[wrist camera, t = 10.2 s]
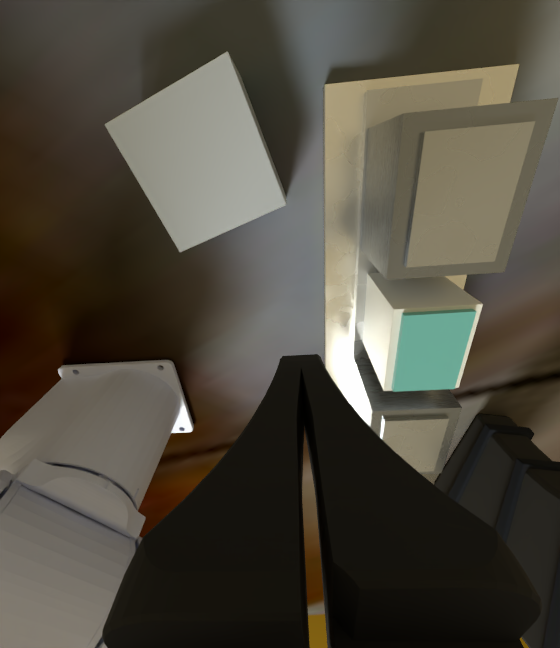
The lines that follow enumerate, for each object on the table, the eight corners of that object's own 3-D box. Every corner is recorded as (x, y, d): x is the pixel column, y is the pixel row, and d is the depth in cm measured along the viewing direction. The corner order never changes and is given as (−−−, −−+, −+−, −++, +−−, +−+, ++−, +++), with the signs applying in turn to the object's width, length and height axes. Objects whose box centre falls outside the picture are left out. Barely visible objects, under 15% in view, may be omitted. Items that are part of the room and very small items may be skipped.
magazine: (424, 517, 31) (569, 721, 16) (442, 396, 30) (614, 489, 15) (458, 520, 31) (635, 725, 16) (477, 400, 30) (683, 495, 15)
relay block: (200, 235, 19) (180, 252, 15) (144, 133, 16) (104, 124, 12) (286, 196, 17) (286, 204, 14) (241, 77, 15) (227, 51, 11)
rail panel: (324, 422, 26) (335, 496, 20) (322, 88, 15) (347, 37, 9) (426, 418, 26) (467, 493, 20) (507, 68, 14) (667, 1, 8)
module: (362, 341, 20) (385, 394, 16) (367, 273, 18) (396, 312, 13) (421, 338, 20) (461, 391, 15) (434, 268, 18) (486, 307, 13)
